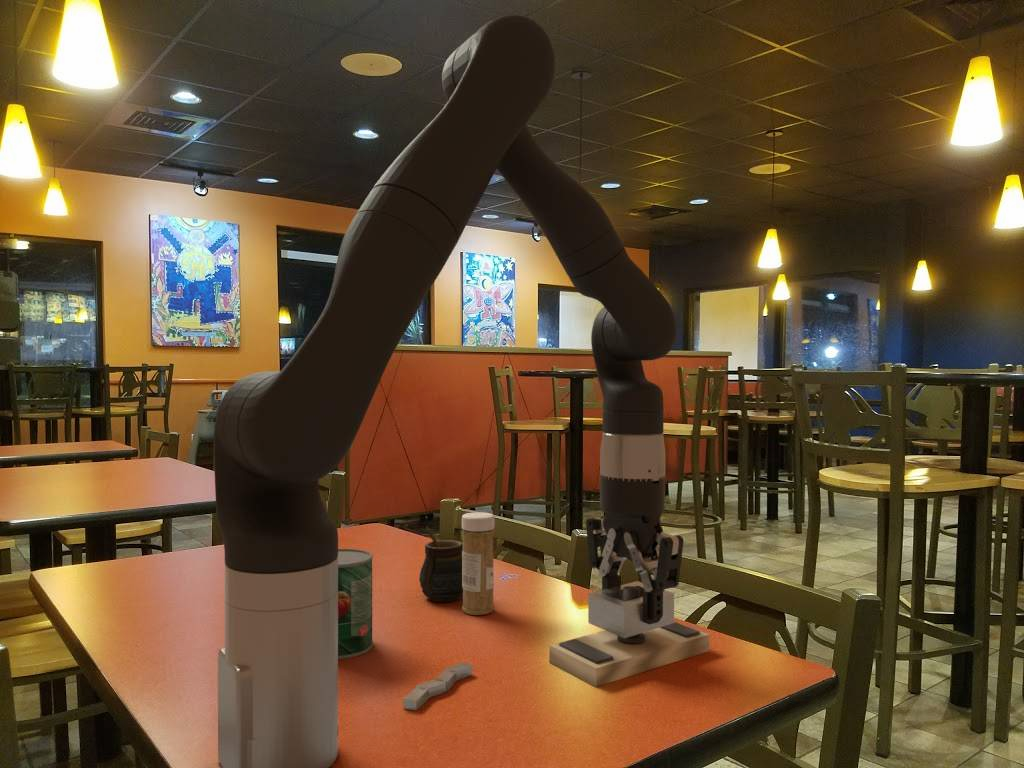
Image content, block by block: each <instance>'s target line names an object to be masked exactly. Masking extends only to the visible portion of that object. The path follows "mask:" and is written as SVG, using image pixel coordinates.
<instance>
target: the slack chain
mask: <svg viewBox="0 0 1024 768" xmlns="http://www.w3.org/2000/svg"><path fill="white" fill-rule="evenodd" d="M472 675H473V665H472V664H470V663H467V662H464V661H463V662H460V663H457V664H455V665H453V666H452V665H451V666H449V667H446V668H444V670H443V671H442V672H441V673H440V674H439V675H438V676H437V677H436V678H435V679H432V680H429V681H425V682H423V683H420V684H415V688H413V690H411V691H410V692H409V693H408V694H407V695H405V696H404V697H403V699H402V700H403V707H402V708H403V709H405V710H410V711H411V710H412V711H417V710H419V709H420V707H422V706H423V705H424V704H425V703H426V702H427V701H429V699H430V698H432V697H435V696H439V695H442V694H445V693H447V692H449V690H450V689H451V688H452V687H453V686H454V684H455V683H456V681H459V680H462V679H465V678H467V677H470V676H472Z"/></svg>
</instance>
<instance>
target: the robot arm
mask: <svg viewBox="0 0 1024 768" xmlns="http://www.w3.org/2000/svg"><path fill="white" fill-rule="evenodd" d="M555 73H556V57H555V52H554V47H553V44H552V42H551V39H550V37H549V35H548V33H547V32H546V30H545V29H544V28H543V27H542V26H541V25H540V24H539V23H537V22H536V20H533V19H531V18H530V17H528V16H527V17H526V16H522V15H517V14H515V15H513V14H510V15H503V16H500V17H498V18H496V19H492V20H490V21H488V22H486V23H485V24H484V25H483V26H481V27H480V28H479V29H478V30H477V31H475V33H473V34H472V35H470V36H469V37H468V38H467V39H466V40H465V41H464V42H463V43H461V44H460V45H459V46H458V47H457V48H456V49H454V51H453V52H452V53H451V54H450V55H449V57H448V58H446V61H445V63H444V66H443V68H442V74H441V83H442V84H441V85H442V88H443V89H442V90H443V95H444V97H445V99H446V101H447V102H446V104H444V106H443V108H442V109H441V110H440V111H439V112H438V114H436V116H435V117H434V118H433V119H432V120H431V121H430V122H429V124H426V126H425V127H424V128H423V130H422V131H420V132H419V133H418V134H417V136H416V137H415V138H414V139H412V140H411V142H410V143H409V144H408V145H407V146H406V147H405V148H404V149H403V150H402V152H401V153H400V154H399V155H398V156H397V157H396V158H395V159H394V161H393V162H392V163H391V164H390V165H389V166H388V168H387V169H386V170H385V171H384V173H383V174H382V175H381V176H380V178H379V179H377V182H376V183H375V184H374V186H373V187H372V189H371V190H370V192H369V194H368V195H367V196H366V198H365V200H363V203H362V204H361V205H360V207H359V209H358V211H357V212H356V213H355V215H354V217H353V218H352V220H351V221H350V224H349V225H348V228H347V230H346V232H345V234H344V236H343V238H342V241H341V244H340V248H339V250H338V251H339V252H338V255H337V260H336V264H335V271H334V276H333V281H332V284H331V288H330V291H329V296H328V299H327V301H326V304H325V305H324V308H323V310H322V312H321V314H320V316H319V317H318V320H317V321H316V322H315V324H314V325H313V327H312V329H311V330H310V332H309V333H308V334H307V336H306V337H305V339H304V340H303V342H302V343H301V345H300V346H299V347H298V349H297V350H296V351H295V353H294V354H293V355H292V357H291V358H290V359H289V361H287V363H286V364H285V365H284V367H283V368H282V369H281V370H269V371H268V370H266V371H258V372H253V373H250V374H248V375H246V376H244V377H242V378H240V379H239V380H237V381H235V382H234V383H233V384H232V385H231V386H230V387H229V388H228V390H227V391H226V392H225V393H224V395H223V397H222V399H221V400H220V402H219V406H218V408H217V411H216V416H215V422H214V434H213V462H214V488H215V489H214V490H215V491H214V493H215V512H216V521H217V525H218V528H219V532H220V535H221V538H222V541H223V549H224V647H223V648H220V649H218V652H217V755H218V756H217V760H218V762H219V764H220V765H221V767H222V768H330V767H331V766H332V765H333V764H334V762H335V761H336V760H337V757H338V754H339V752H338V750H339V748H338V747H339V743H338V742H339V712H338V711H339V659H338V549H339V534H338V527H337V524H336V523H335V521H334V520H333V518H332V517H331V515H330V514H329V513H328V511H327V509H326V508H325V507H326V506H325V505H324V503H323V499H322V498H321V493H320V485H319V480H321V479H323V478H324V477H326V476H327V475H329V474H330V473H331V472H332V471H333V470H335V469H336V468H338V466H339V464H340V463H341V462H342V461H343V459H345V457H346V455H347V454H348V452H349V451H350V448H351V447H352V444H353V443H354V441H355V439H356V436H357V435H358V433H359V431H360V428H361V426H362V424H363V421H364V419H365V417H366V414H367V412H368V409H369V407H370V405H371V402H372V400H373V398H374V395H375V393H376V391H377V388H378V387H379V384H380V382H381V379H382V377H383V376H384V373H385V371H386V369H387V366H388V364H389V362H390V361H391V358H392V356H393V354H394V352H395V350H396V349H397V346H398V345H399V343H400V341H401V340H402V338H403V336H404V335H405V334H406V332H407V330H408V328H409V326H410V325H411V323H412V322H413V319H414V318H415V316H416V313H417V312H418V311H419V309H420V307H421V305H422V303H423V302H424V300H425V298H426V296H427V294H428V293H429V292H430V290H431V288H432V287H433V285H434V283H435V282H436V280H437V279H438V277H439V276H440V274H441V272H442V270H443V269H444V267H445V265H446V264H447V262H448V260H449V259H450V256H451V255H452V253H453V251H454V249H455V248H456V246H457V244H458V242H459V240H460V238H462V237H461V236H462V234H463V232H464V231H465V228H466V226H467V225H468V222H469V221H470V219H471V218H472V215H473V214H474V212H475V210H476V208H477V207H478V205H479V204H480V202H481V199H482V198H483V196H484V194H485V192H486V190H487V189H488V187H489V184H490V182H491V181H492V179H493V177H494V174H495V172H496V170H497V171H498V172H499V174H500V175H501V177H502V178H503V179H504V180H505V182H506V183H507V184H508V185H509V187H510V188H511V190H512V191H514V193H515V194H516V196H517V197H518V199H519V200H520V201H521V202H522V203H523V205H524V207H526V209H527V210H528V212H529V213H530V214H531V216H532V218H533V219H534V220H535V222H536V223H537V225H538V226H539V228H540V230H541V231H542V233H543V235H544V237H546V240H547V241H548V243H549V245H550V247H551V248H552V250H553V252H554V253H555V256H556V257H557V260H558V261H559V262H560V264H561V266H562V269H564V271H565V273H566V275H567V276H568V278H569V280H570V282H571V284H572V285H573V288H575V289H576V291H577V292H578V293H579V294H580V295H582V296H584V297H587V298H590V299H593V300H596V301H598V302H599V303H600V304H601V305H602V306H603V307H602V308H601V309H600V310H599V311H598V312H597V314H596V316H595V318H594V321H593V323H592V328H591V334H590V337H591V338H590V341H591V342H590V343H591V352H592V356H593V362H594V367H595V370H596V375H597V380H598V384H599V387H600V389H601V394H602V436H601V443H600V450H599V451H600V452H599V453H600V454H599V508H600V511H602V513H605V514H604V516H598V517H590V518H587V519H586V521H585V526H586V538H587V539H586V540H587V550H588V560H589V561H588V562H589V566H590V567H591V568H592V569H594V568H596V570H598V573H599V575H600V576H601V588H602V589H601V590H604V589H609V588H613V587H617V586H621V585H622V576H621V575H620V572H621V570H622V568H623V565H624V562H625V561H626V560H629V561H632V563H633V566H634V570H635V572H637V573H639V576H640V579H641V583H643V586H644V589H645V591H643V622H644V623H647V624H649V625H650V624H654V623H657V622H659V621H660V619H661V618H662V615H663V591H664V590H665V591H666V590H667V589H673V588H676V587H678V586H679V583H680V574H681V573H680V572H681V566H682V558H683V557H682V556H683V549H684V538H683V536H681V535H679V534H677V535H670V534H669V533H666V532H664V529H663V527H662V523H661V518H662V515H663V513H665V510H666V448H665V439H664V416H665V415H664V413H665V412H664V411H665V410H664V408H665V407H664V406H665V405H664V394H663V390H662V389H661V387H660V386H659V385H658V384H656V383H654V382H651V381H649V380H648V379H647V378H646V375H645V370H644V366H643V362H642V361H654V360H659V359H661V358H664V357H665V356H666V355H667V354H669V353H670V352H671V351H672V349H673V348H674V346H675V344H676V341H677V338H678V337H677V336H678V325H677V320H676V316H675V313H674V311H673V309H672V307H671V305H670V303H669V301H668V300H667V298H666V297H665V296H664V295H663V293H662V292H661V291H660V290H659V289H658V287H657V286H656V285H655V284H654V283H653V282H652V281H651V279H650V278H649V277H648V276H647V274H645V272H644V271H643V270H642V269H641V268H640V267H639V266H638V265H637V264H636V263H635V262H634V261H633V260H632V259H631V258H630V256H629V255H628V252H627V250H626V248H625V246H624V244H623V242H622V240H621V239H620V237H619V234H618V233H617V230H616V229H615V228H614V225H613V222H612V221H611V220H610V217H609V215H608V213H607V212H606V211H605V210H604V208H603V207H602V206H601V204H600V203H599V202H598V200H597V199H596V198H595V197H594V196H593V195H592V194H591V193H590V192H589V191H588V190H587V189H586V188H585V187H583V186H582V185H581V184H580V183H579V182H578V181H577V180H576V179H574V178H573V177H572V176H571V175H569V174H568V173H566V171H564V170H563V169H562V168H561V167H559V165H557V163H555V162H554V161H553V160H552V159H551V158H550V157H549V155H547V154H546V152H545V151H544V150H543V149H542V148H541V147H540V145H539V144H538V142H537V141H536V139H535V138H534V136H533V134H532V133H531V131H530V128H529V127H528V125H527V123H528V122H529V121H530V119H531V118H532V117H533V116H534V114H535V113H536V112H537V110H538V109H539V107H540V106H541V105H542V104H543V102H544V101H545V100H546V98H547V97H548V95H549V93H550V91H551V90H552V86H553V82H554V78H555ZM598 548H600V549H599V550H600V556H599V554H598V553H599V552H598V551H599V550H598ZM648 559H650V561H649V562H647V561H646V560H648ZM651 572H652V574H651Z"/></svg>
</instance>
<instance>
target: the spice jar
mask: <svg viewBox="0 0 1024 768" xmlns="http://www.w3.org/2000/svg"><path fill="white" fill-rule="evenodd" d="M495 519H496V518H495V515H494V514H493V513H490V512H478V511H476V512H467V513H463V515H462V516H461V529H462V530H461V531H462V544H463V550H462V587H463V595H462V605H461V610H462V612H463V613H465V614H467V615H472V616H485V615H488V614H489V615H490V614H491V613H492V612H494V610H495V605H494V585H495V584H494V581H495V580H494V577H495V576H494V530H495V524H496V523H495V522H496V521H495Z"/></svg>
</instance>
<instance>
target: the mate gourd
mask: <svg viewBox="0 0 1024 768" xmlns="http://www.w3.org/2000/svg"><path fill="white" fill-rule="evenodd" d="M424 527H425V526H424ZM425 529H426V530H427V532H428V535H429V536H430V538H431V540H432V541H429V542H427V543H425V544H424V553H425V556H424V557H425V558H424V561H423V563H422V566H421V569H420V573H419V578H418V579H419V583H420V588H421V593H423V595H424V596H425V597H426V598H427V599H428V600H430V601H432V602H434V603H450V602H454V601H457V600H459V599H460V598H461V597H463V587H462V550H463V542H461V541H458V540H452V539H446V540H445V539H443V540H438V539H437V538H436V537H435V535H434V534H433V532H432V531H431V529H430V527H429V526H426V527H425Z"/></svg>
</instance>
